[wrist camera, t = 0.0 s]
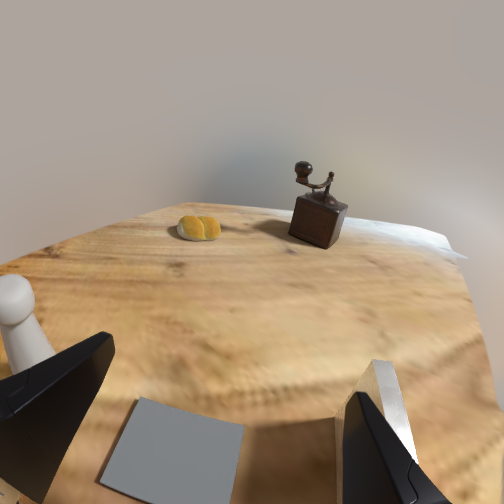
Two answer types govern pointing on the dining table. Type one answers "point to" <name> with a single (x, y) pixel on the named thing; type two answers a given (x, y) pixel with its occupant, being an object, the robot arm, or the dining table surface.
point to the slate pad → (174, 457)
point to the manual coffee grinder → (316, 211)
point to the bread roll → (198, 228)
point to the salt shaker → (21, 325)
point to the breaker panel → (387, 401)
